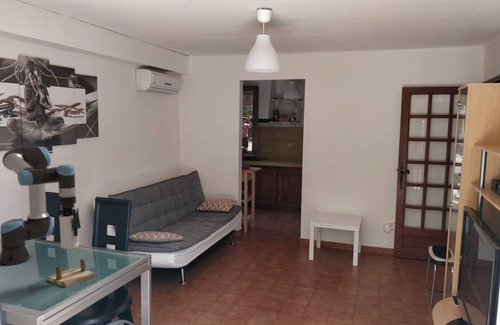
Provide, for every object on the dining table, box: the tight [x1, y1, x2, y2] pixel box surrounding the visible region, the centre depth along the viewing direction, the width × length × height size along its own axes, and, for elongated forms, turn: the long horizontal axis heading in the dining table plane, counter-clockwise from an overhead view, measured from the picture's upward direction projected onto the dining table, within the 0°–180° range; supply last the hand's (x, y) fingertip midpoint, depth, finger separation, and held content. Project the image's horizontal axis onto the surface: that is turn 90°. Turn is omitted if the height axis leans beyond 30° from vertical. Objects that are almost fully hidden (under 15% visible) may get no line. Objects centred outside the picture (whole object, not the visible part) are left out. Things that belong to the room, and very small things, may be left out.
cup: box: [59, 215, 80, 250], centre depth 204 cm, size 8×8×16 cm
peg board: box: [47, 258, 96, 288], centre depth 206 cm, size 16×16×8 cm
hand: (69, 240), depth 205 cm, fingers closed on cup, 8 cm apart
